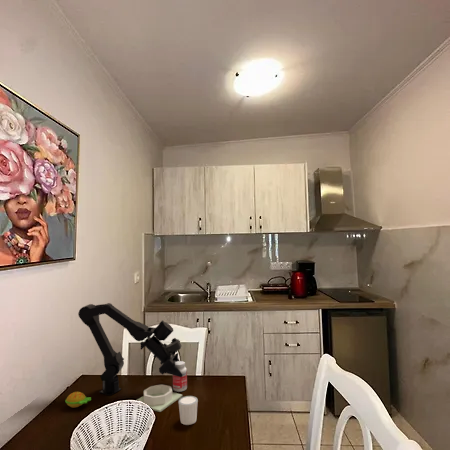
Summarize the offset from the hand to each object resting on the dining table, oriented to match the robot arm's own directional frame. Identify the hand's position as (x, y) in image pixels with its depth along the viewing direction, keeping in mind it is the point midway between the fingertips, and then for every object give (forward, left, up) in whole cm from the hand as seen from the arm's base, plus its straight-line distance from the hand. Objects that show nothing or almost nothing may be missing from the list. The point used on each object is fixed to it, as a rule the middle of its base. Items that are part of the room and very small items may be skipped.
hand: (182, 373), depth 138 cm
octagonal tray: (-3, -13, -7) cm, 15 cm away
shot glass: (+17, -20, -7) cm, 27 cm away
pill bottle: (-1, -1, -7) cm, 7 cm away
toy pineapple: (-28, -31, -7) cm, 42 cm away
